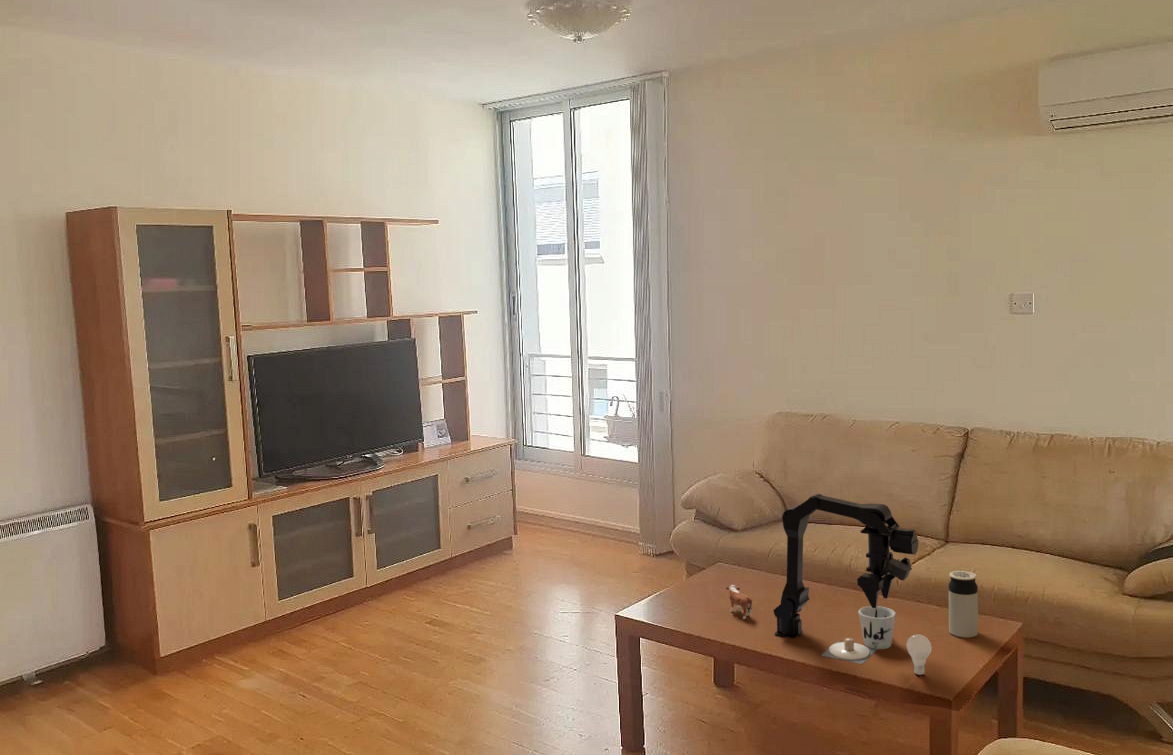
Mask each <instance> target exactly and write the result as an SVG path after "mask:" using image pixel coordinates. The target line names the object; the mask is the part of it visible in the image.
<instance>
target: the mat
mask: <svg viewBox="0 0 1173 755" xmlns="http://www.w3.org/2000/svg"><path fill="white" fill-rule="evenodd" d="M841 642H842V641H838V640H836V642H834V644H836V643H841ZM866 647H867V646H866ZM867 648H868V649H869V656H868V657H866V658H864V659H860V660H845V659H840V658H837V657H834V656H833V655H831V654H830V651H829V648H827V650H825V651H824V652H823V653H822V654H821V655H820V656H821V657H825V658H826V657H827V658H830V659H832V658H833V659H836V660H840V661H844V662H850V663H855V664H859V665H863V664H864V663H865V662H867V660H868V659H870V657H871V656H873V655H874V654H875V652H877V651H878V649H874V648H870V647H867Z"/></svg>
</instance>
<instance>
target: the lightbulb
mask: <svg viewBox="0 0 1173 755" xmlns="http://www.w3.org/2000/svg"><path fill="white" fill-rule="evenodd" d="M906 649H907V650H906V651H907V653H908V655H909V656H910V657H911V660H912V664H913V672H914V673H915V674H916V675H917V676H922V675H924V674H925V664H926V662H927V659H928V657H929V656H930V654H931V652H932V643H931V642H930V640H929V638H927V637H926V636H925V635H922V634H913V635H910V637H909V638H908V639H907V641H906Z"/></svg>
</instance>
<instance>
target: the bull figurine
mask: <svg viewBox="0 0 1173 755" xmlns="http://www.w3.org/2000/svg"><path fill="white" fill-rule="evenodd" d="M725 589H726V590H727V591H729V600H730V604H731V605H730V610H729V612H730V613H733V612H734V606H737V607H738V610H737V612H738V613H741V612H743V617H742V620H746V618H747V617H749V616H750V615H752V612H753V608H752V605H753V600H752V598H751V597H749V596H748V595H746V594H744V593H742V592H741V591H739V590H741V587H736V585H735V584H730V585H729V586H726V587H725Z"/></svg>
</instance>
